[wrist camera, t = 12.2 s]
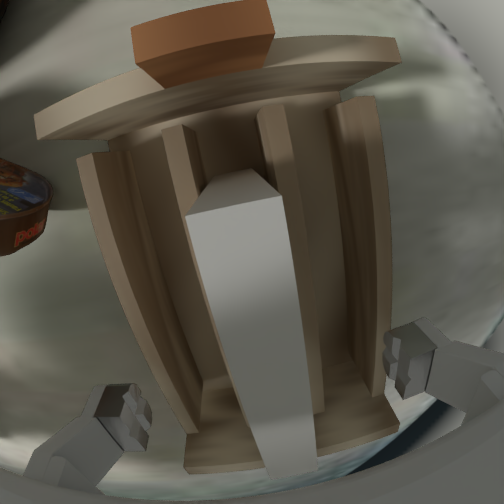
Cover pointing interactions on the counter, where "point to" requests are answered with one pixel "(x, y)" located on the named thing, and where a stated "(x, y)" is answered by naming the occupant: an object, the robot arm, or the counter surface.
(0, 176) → the tin
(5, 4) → the glass bottle
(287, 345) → the panel
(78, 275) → the counter surface
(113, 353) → the counter surface
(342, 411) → the rack
